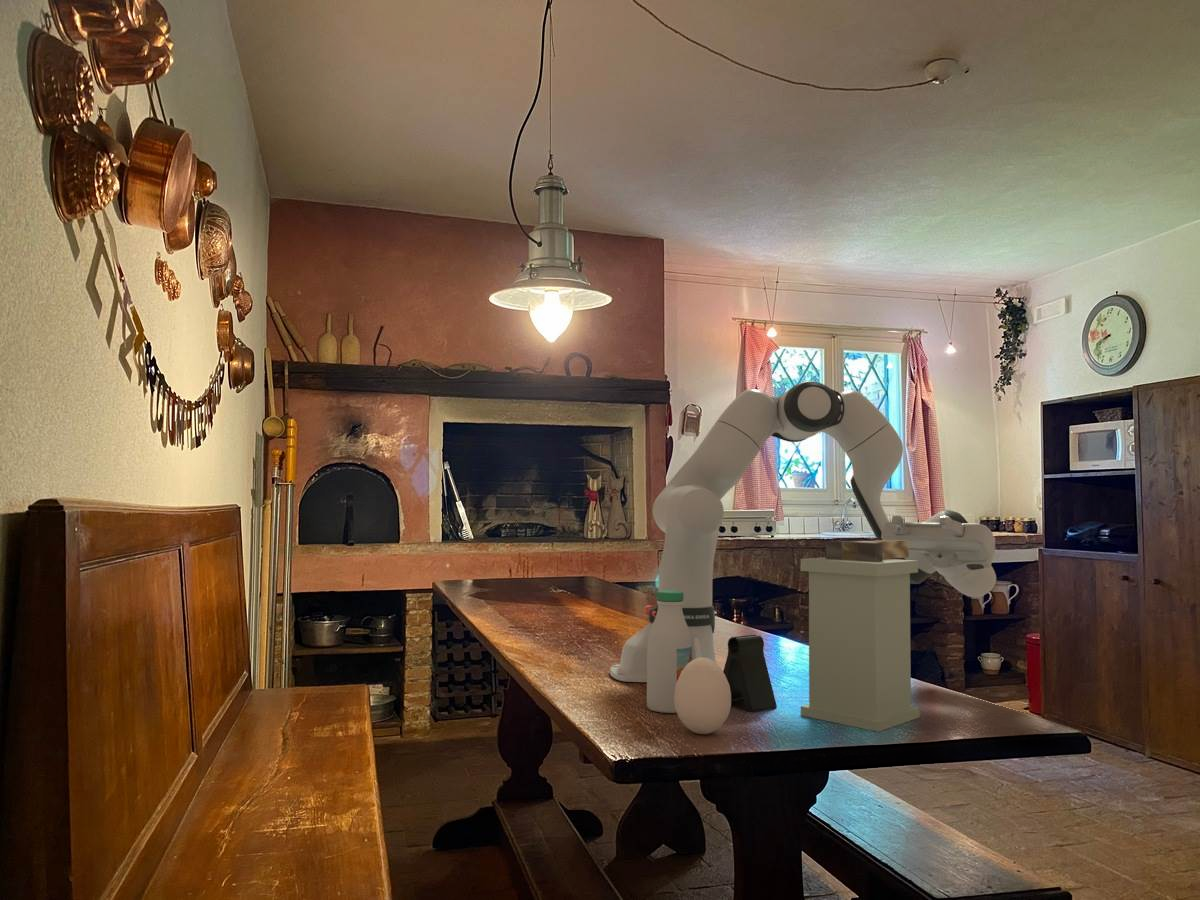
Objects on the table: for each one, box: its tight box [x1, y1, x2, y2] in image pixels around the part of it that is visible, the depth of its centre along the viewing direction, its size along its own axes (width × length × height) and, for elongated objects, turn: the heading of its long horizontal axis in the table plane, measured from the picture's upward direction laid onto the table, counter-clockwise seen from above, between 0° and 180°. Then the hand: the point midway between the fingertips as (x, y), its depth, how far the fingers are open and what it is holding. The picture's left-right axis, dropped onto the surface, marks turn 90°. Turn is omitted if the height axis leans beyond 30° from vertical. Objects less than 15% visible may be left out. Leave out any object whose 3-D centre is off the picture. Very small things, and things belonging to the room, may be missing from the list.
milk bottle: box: [646, 590, 692, 714], centre depth 148 cm, size 8×8×20 cm
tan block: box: [825, 539, 909, 562], centre depth 150 cm, size 18×9×3 cm, turn 135°
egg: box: [674, 657, 732, 735], centre depth 132 cm, size 9×9×11 cm
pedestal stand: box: [800, 556, 921, 733], centre depth 145 cm, size 14×14×26 cm
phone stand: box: [722, 634, 778, 713], centre depth 151 cm, size 9×6×12 cm, turn 36°
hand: (918, 519), depth 161 cm, fingers open, 8 cm apart
